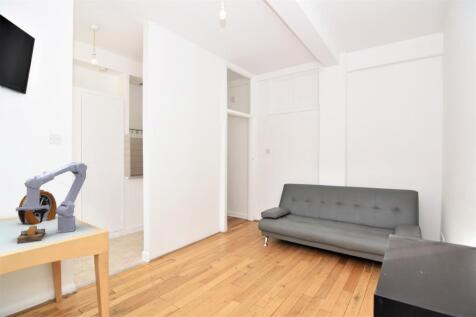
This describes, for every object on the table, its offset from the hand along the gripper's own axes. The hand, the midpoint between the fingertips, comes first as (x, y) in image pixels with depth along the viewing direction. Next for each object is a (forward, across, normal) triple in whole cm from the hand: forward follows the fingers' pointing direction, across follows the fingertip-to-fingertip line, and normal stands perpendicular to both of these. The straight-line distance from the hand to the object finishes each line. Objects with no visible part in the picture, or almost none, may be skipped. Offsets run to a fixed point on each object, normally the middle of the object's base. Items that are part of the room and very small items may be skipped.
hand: (32, 222), depth 139 cm
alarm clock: (+9, -3, +42) cm, 43 cm away
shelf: (+9, 0, 0) cm, 9 cm away
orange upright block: (+8, 0, 0) cm, 8 cm away
